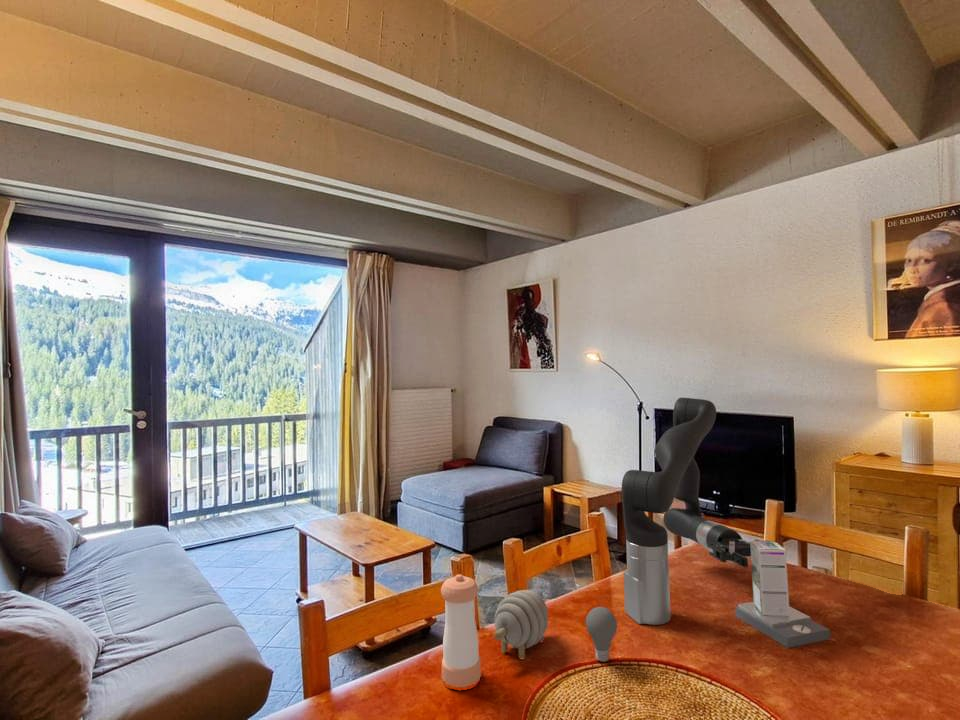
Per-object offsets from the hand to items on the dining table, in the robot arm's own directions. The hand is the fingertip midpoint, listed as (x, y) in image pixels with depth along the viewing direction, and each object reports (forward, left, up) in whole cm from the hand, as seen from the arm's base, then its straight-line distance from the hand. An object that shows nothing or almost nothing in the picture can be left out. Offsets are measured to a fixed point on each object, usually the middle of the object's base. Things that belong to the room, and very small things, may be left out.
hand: (763, 561), depth 113 cm
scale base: (0, -4, -13) cm, 13 cm away
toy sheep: (-57, +5, -13) cm, 59 cm away
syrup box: (-1, -2, -10) cm, 10 cm away
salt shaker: (-71, -2, -13) cm, 72 cm away
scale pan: (0, -2, -11) cm, 11 cm away
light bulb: (-43, -4, -13) cm, 45 cm away
